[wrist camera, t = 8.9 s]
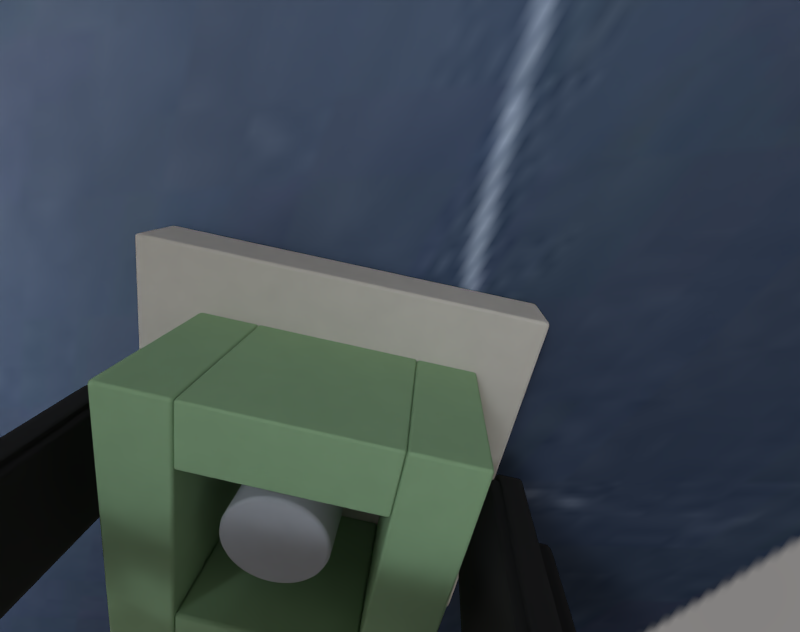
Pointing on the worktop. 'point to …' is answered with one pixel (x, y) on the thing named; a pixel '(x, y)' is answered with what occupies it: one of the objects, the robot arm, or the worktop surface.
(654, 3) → the worktop surface
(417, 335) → the base pad
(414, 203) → the worktop surface
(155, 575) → the green hollow square block
